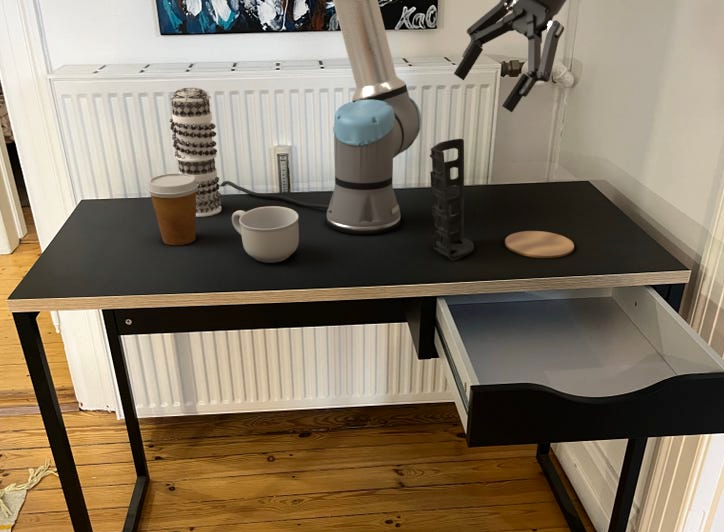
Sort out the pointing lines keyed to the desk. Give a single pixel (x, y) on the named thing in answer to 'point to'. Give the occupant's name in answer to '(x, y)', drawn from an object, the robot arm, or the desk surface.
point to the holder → (448, 200)
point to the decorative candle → (196, 146)
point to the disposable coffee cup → (175, 206)
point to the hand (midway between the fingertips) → (482, 93)
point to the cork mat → (539, 244)
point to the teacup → (268, 232)
